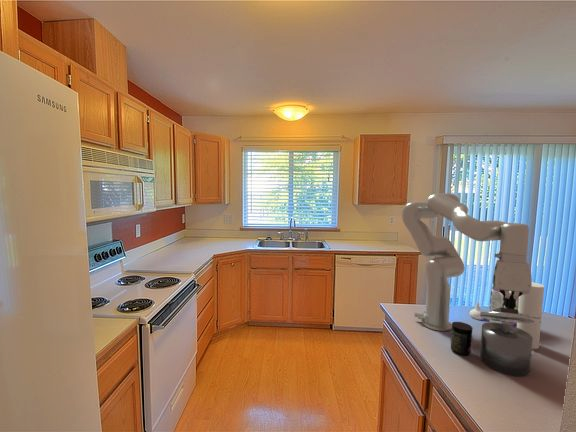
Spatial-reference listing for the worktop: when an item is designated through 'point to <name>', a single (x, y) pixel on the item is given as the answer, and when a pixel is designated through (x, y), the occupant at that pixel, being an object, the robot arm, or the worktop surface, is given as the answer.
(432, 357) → the worktop surface
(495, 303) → the candy box
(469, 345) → the supplement container
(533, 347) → the cylindrical container
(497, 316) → the round plate
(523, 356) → the dark grey rounded block
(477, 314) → the garlic bulb
